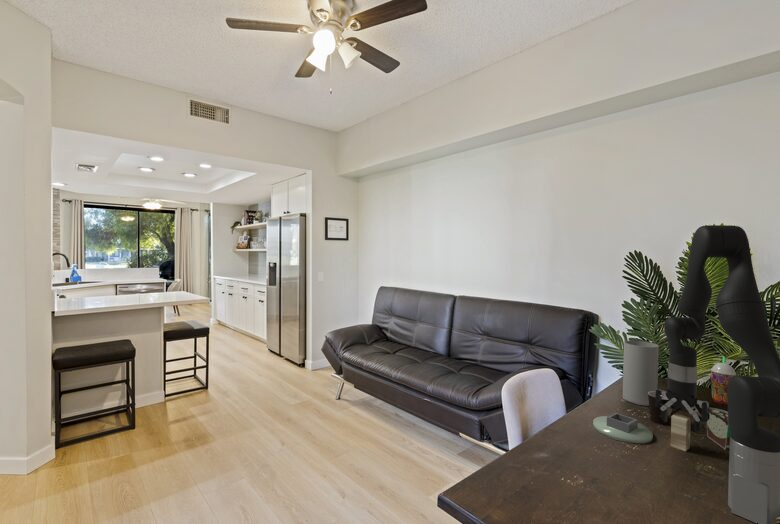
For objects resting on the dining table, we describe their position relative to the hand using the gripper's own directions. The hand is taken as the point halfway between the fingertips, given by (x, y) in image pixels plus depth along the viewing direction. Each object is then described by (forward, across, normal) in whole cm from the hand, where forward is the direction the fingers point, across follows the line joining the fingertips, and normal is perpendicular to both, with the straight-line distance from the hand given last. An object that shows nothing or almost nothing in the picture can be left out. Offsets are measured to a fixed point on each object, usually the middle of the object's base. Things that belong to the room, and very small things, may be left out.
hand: (680, 426), depth 123 cm
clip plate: (+7, -16, -4) cm, 18 cm away
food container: (+7, +8, +16) cm, 19 cm away
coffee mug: (+7, -10, +18) cm, 21 cm away
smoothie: (+8, -4, +63) cm, 63 cm away
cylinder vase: (+8, -25, +34) cm, 42 cm away
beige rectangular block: (+7, 0, 0) cm, 7 cm away
